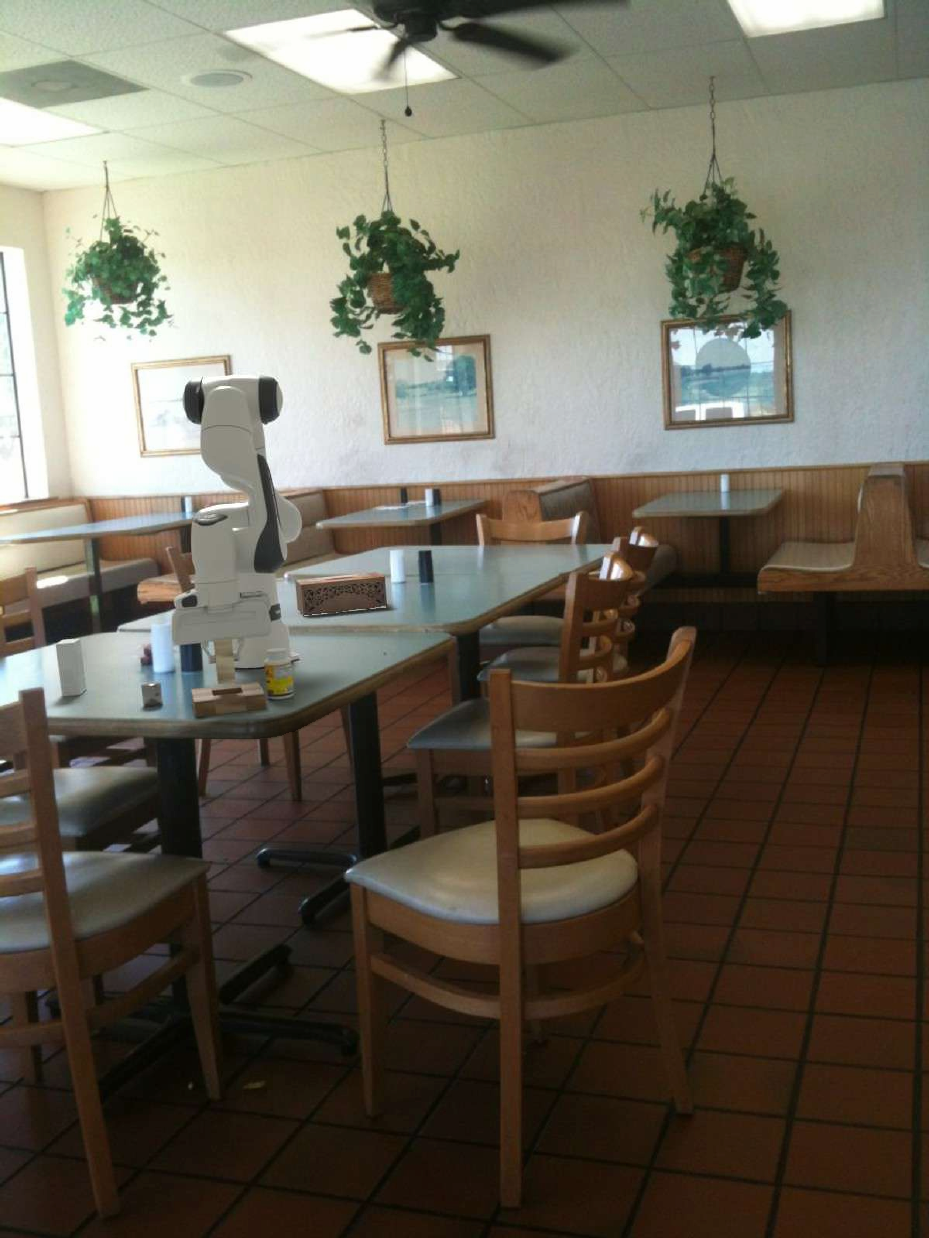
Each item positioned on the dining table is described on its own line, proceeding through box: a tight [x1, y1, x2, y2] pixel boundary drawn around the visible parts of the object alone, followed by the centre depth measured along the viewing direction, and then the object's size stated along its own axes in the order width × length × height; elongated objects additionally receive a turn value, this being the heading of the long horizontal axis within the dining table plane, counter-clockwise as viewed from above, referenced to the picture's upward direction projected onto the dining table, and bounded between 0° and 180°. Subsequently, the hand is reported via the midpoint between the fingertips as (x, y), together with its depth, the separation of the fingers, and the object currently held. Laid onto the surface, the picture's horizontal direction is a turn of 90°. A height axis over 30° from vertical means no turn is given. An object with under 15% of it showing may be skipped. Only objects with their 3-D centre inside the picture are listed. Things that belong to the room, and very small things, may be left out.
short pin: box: [140, 681, 164, 708], centre depth 264 cm, size 4×4×4 cm
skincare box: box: [55, 638, 87, 697], centre depth 282 cm, size 6×4×12 cm
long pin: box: [213, 637, 237, 685], centre depth 257 cm, size 4×4×11 cm
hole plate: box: [190, 681, 267, 718], centre depth 258 cm, size 14×14×3 cm
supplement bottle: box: [264, 648, 295, 701], centre depth 263 cm, size 6×6×10 cm
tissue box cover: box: [294, 572, 388, 616], centre depth 389 cm, size 26×14×10 cm, turn 105°
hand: (224, 661), depth 257 cm, fingers closed on long pin, 3 cm apart
